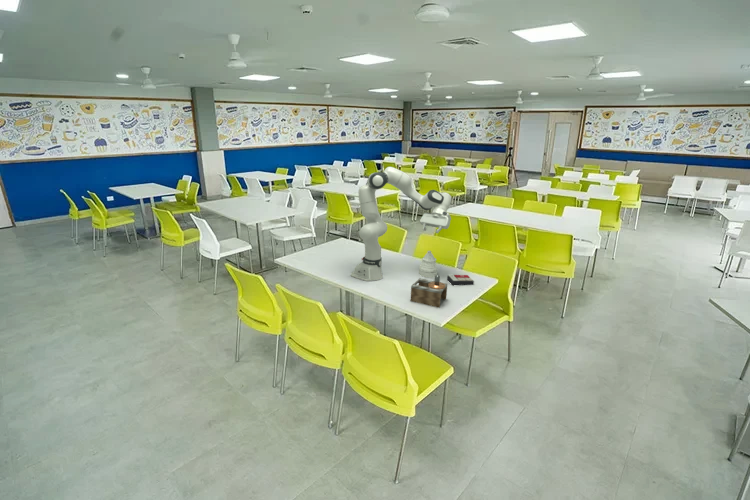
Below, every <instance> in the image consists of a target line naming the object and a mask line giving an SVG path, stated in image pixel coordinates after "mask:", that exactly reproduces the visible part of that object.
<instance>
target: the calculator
mask: <svg viewBox="0 0 750 500" xmlns="http://www.w3.org/2000/svg"><path fill="white" fill-rule="evenodd" d="M446 279H447V280H446V281H449V282H450V283H451V284H450V283H449V284H450V285H451V286H452V287H455V286H454V285H459V286H474V283H475V281H474V280H473V279H472V278H471V277H470V276H469V275H468V274H448V275H447V278H446Z"/></svg>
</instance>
